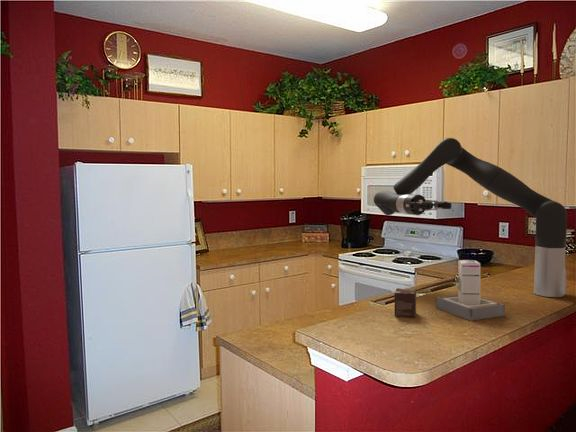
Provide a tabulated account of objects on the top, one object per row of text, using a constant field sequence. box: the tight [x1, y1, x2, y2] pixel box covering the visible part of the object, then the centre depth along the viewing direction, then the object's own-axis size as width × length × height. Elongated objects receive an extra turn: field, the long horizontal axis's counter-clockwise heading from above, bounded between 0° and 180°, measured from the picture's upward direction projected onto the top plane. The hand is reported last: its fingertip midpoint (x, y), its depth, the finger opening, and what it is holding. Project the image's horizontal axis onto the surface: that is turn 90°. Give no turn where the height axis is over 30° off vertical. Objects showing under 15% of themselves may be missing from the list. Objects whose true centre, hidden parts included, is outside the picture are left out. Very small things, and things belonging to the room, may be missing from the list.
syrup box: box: [457, 259, 481, 306], centre depth 138 cm, size 6×6×14 cm
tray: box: [435, 294, 506, 322], centre depth 139 cm, size 13×15×3 cm
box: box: [393, 288, 417, 319], centre depth 136 cm, size 6×6×7 cm
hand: (440, 206), depth 152 cm, fingers open, 8 cm apart
